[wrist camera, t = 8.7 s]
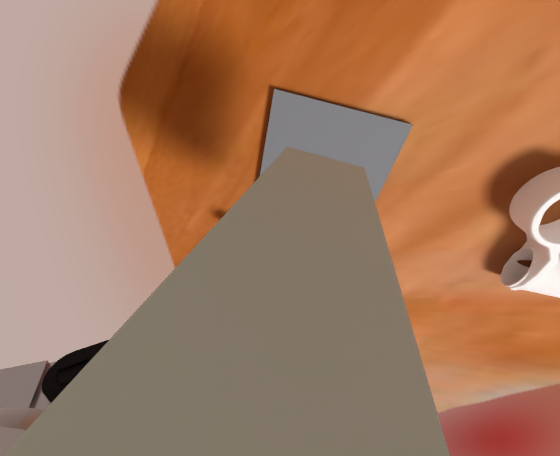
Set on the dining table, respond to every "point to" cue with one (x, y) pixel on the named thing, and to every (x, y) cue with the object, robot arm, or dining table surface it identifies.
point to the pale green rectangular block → (262, 340)
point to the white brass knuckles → (536, 237)
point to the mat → (334, 135)
